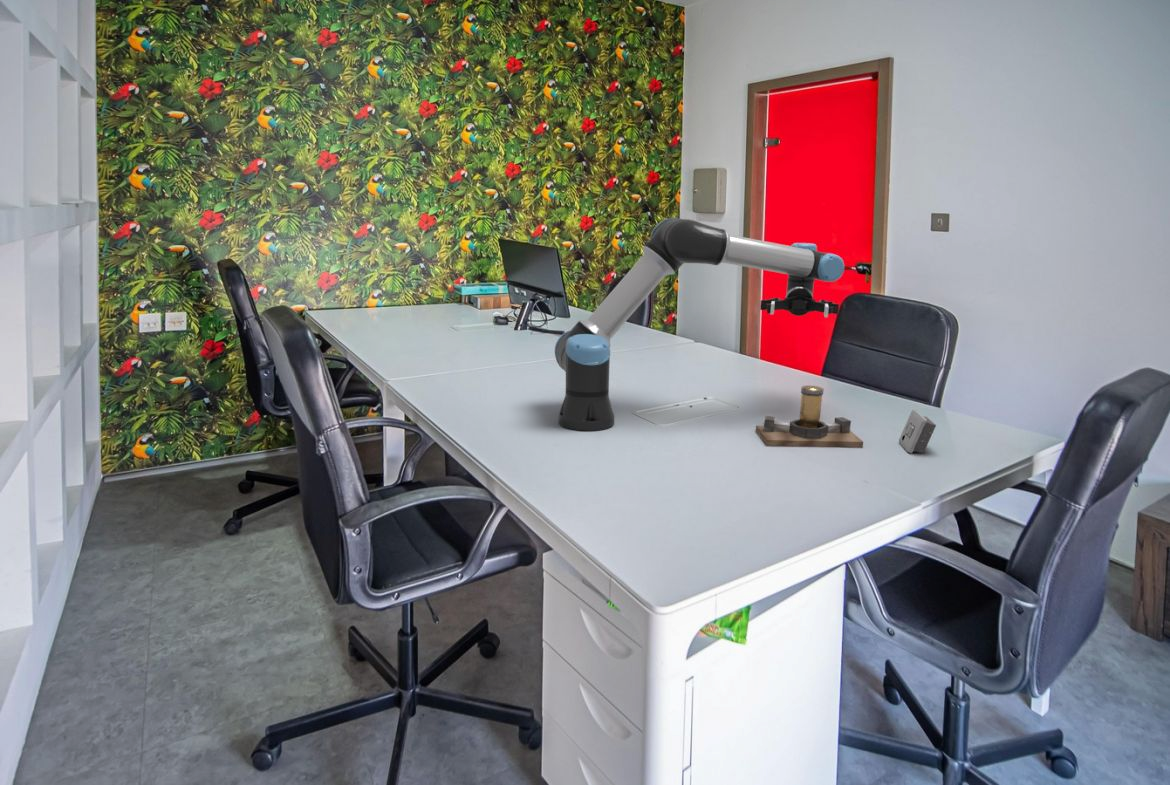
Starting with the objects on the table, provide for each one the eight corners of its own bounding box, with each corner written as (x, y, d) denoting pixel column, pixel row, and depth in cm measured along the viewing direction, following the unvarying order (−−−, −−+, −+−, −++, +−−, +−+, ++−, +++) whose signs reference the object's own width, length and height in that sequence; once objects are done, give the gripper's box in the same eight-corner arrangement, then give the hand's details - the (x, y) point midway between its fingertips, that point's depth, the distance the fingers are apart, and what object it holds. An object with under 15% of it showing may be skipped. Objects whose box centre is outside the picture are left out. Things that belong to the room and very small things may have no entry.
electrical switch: (897, 442, 198) (905, 408, 196) (918, 445, 198) (926, 410, 195) (908, 454, 189) (916, 418, 187) (929, 457, 188) (938, 421, 186)
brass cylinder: (794, 433, 199) (798, 387, 196) (801, 429, 203) (805, 384, 200) (814, 437, 196) (819, 391, 193) (822, 432, 200) (826, 387, 197)
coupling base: (766, 445, 193) (768, 427, 192) (755, 430, 206) (756, 413, 205) (862, 447, 193) (864, 429, 192) (845, 432, 206) (847, 415, 205)
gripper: (844, 316, 218) (848, 327, 198) (753, 311, 224) (749, 322, 204) (846, 289, 216) (851, 298, 196) (755, 285, 222) (750, 293, 202)
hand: (799, 310), depth 200 cm, fingers open, 13 cm apart
